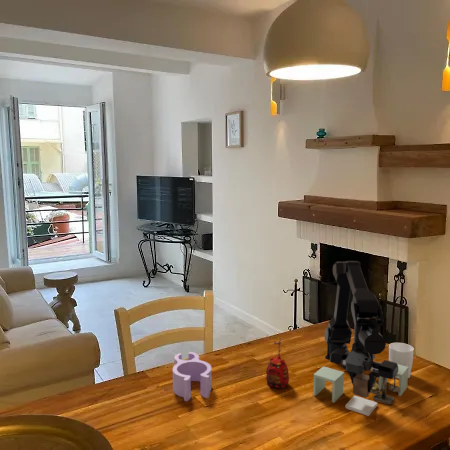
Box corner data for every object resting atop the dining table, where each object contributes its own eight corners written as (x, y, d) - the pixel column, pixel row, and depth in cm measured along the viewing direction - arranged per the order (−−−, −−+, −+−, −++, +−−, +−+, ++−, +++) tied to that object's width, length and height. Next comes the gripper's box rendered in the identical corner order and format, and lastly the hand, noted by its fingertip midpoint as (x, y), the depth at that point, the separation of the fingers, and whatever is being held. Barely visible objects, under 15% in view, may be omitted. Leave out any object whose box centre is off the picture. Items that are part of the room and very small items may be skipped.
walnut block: (352, 393, 134) (353, 377, 133) (357, 388, 137) (358, 372, 136) (366, 397, 131) (366, 381, 131) (370, 392, 135) (371, 376, 134)
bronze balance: (366, 397, 140) (368, 368, 139) (370, 393, 143) (372, 364, 142) (397, 407, 135) (398, 376, 133) (400, 402, 137) (402, 372, 136)
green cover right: (378, 389, 145) (379, 368, 144) (385, 381, 151) (386, 361, 150) (400, 396, 141) (401, 375, 140) (407, 387, 146) (408, 366, 145)
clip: (167, 373, 157) (166, 354, 156) (202, 369, 160) (202, 350, 159) (177, 403, 138) (177, 381, 137) (216, 397, 141) (216, 376, 140)
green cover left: (313, 395, 142) (313, 374, 141) (322, 386, 147) (323, 366, 146) (334, 402, 137) (334, 380, 136) (343, 393, 143) (344, 372, 142)
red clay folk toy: (262, 386, 147) (263, 342, 145) (270, 377, 153) (271, 335, 151) (285, 391, 144) (285, 346, 142) (292, 382, 150) (293, 339, 148)
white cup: (408, 370, 159) (409, 342, 157) (415, 380, 151) (417, 352, 149) (385, 369, 159) (386, 342, 158) (390, 379, 152) (392, 351, 150)
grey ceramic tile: (345, 408, 134) (345, 405, 134) (354, 398, 140) (354, 395, 139) (368, 416, 130) (368, 412, 130) (377, 405, 135) (377, 402, 135)
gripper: (322, 340, 131) (321, 391, 133) (387, 357, 120) (384, 412, 122) (338, 329, 140) (336, 376, 142) (400, 344, 129) (397, 395, 131)
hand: (362, 389), depth 134 cm, fingers closed on walnut block, 4 cm apart
